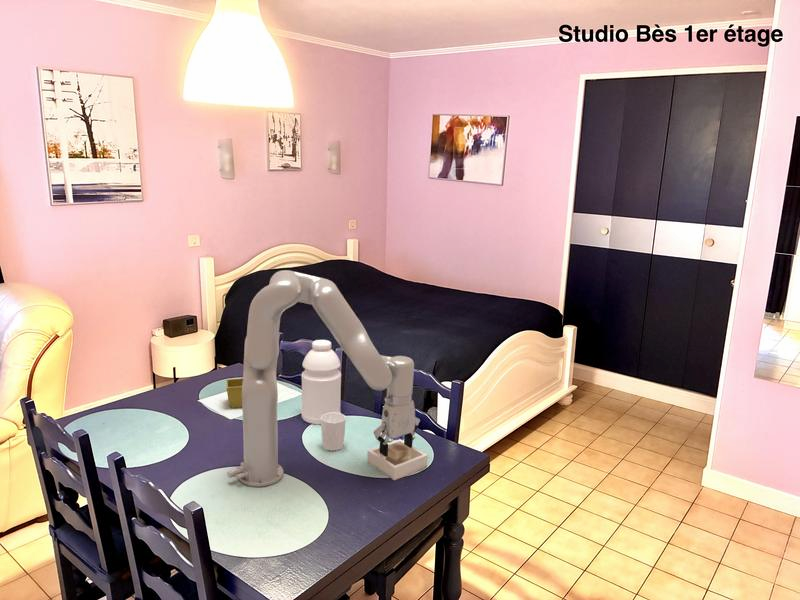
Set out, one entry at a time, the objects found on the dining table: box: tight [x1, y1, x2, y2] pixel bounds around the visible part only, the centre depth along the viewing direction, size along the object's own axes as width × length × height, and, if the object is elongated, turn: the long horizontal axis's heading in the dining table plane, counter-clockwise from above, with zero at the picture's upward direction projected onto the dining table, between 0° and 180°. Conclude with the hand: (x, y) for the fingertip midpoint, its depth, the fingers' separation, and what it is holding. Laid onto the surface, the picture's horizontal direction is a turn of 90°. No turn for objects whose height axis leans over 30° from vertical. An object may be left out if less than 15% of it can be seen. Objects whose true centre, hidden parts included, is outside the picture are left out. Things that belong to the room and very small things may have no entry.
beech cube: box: [386, 442, 409, 465], centre depth 181 cm, size 5×5×5 cm
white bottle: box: [301, 339, 342, 425], centre depth 209 cm, size 14×14×28 cm
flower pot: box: [225, 377, 243, 409], centre depth 219 cm, size 9×9×9 cm
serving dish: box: [366, 439, 429, 481], centre depth 181 cm, size 13×13×4 cm
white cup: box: [320, 412, 347, 452], centre depth 190 cm, size 8×8×10 cm
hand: (395, 450), depth 180 cm, fingers open, 9 cm apart
